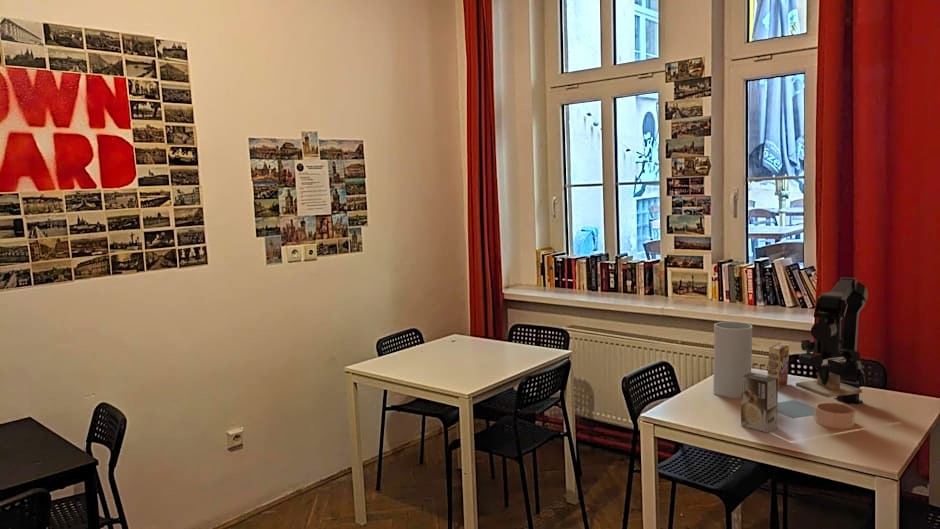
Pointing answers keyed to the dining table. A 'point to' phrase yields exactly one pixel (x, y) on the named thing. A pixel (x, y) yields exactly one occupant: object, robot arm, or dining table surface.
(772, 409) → the coffee box
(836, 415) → the terracotta bowl
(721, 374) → the cylinder vase
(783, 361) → the candy box
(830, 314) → the robot arm
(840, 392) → the walnut lid
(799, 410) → the rubber mat
